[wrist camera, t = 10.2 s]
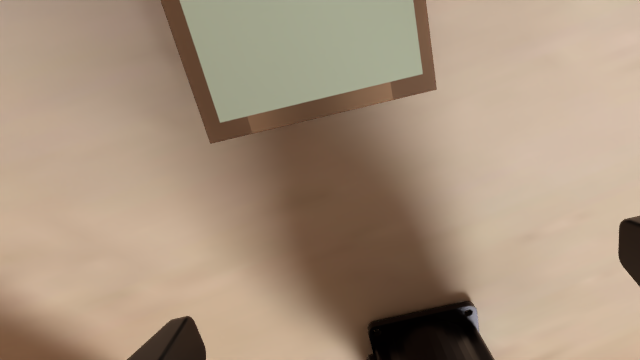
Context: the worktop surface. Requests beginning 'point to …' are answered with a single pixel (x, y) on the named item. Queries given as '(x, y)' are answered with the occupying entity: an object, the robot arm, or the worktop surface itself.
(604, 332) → the worktop surface
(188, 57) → the pocket holder
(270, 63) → the green block
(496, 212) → the worktop surface
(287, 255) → the worktop surface
